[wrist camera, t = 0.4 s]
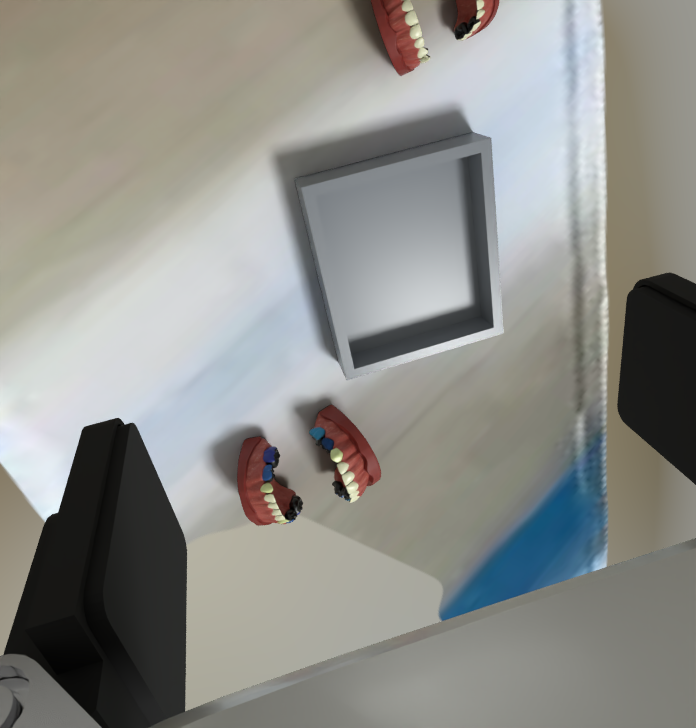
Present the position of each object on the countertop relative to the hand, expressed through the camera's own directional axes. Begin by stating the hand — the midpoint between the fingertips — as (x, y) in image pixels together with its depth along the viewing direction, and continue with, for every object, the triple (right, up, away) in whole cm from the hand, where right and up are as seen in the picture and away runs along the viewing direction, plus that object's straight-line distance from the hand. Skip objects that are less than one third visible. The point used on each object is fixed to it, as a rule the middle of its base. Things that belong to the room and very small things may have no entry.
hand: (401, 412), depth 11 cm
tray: (+3, +9, +35) cm, 36 cm away
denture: (+4, +24, +28) cm, 37 cm away
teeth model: (-5, -7, +43) cm, 43 cm away
